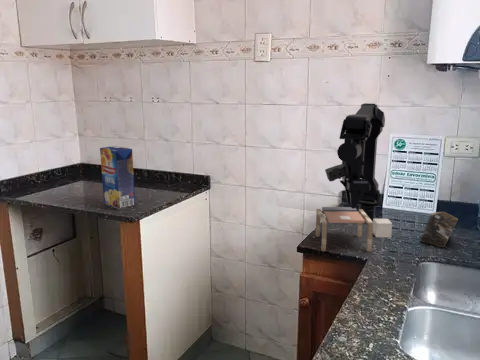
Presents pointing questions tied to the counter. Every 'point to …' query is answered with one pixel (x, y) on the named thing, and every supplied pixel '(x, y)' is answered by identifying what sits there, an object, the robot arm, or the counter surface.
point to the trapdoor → (342, 215)
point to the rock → (439, 228)
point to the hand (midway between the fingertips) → (351, 206)
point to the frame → (359, 230)
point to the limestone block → (382, 227)
